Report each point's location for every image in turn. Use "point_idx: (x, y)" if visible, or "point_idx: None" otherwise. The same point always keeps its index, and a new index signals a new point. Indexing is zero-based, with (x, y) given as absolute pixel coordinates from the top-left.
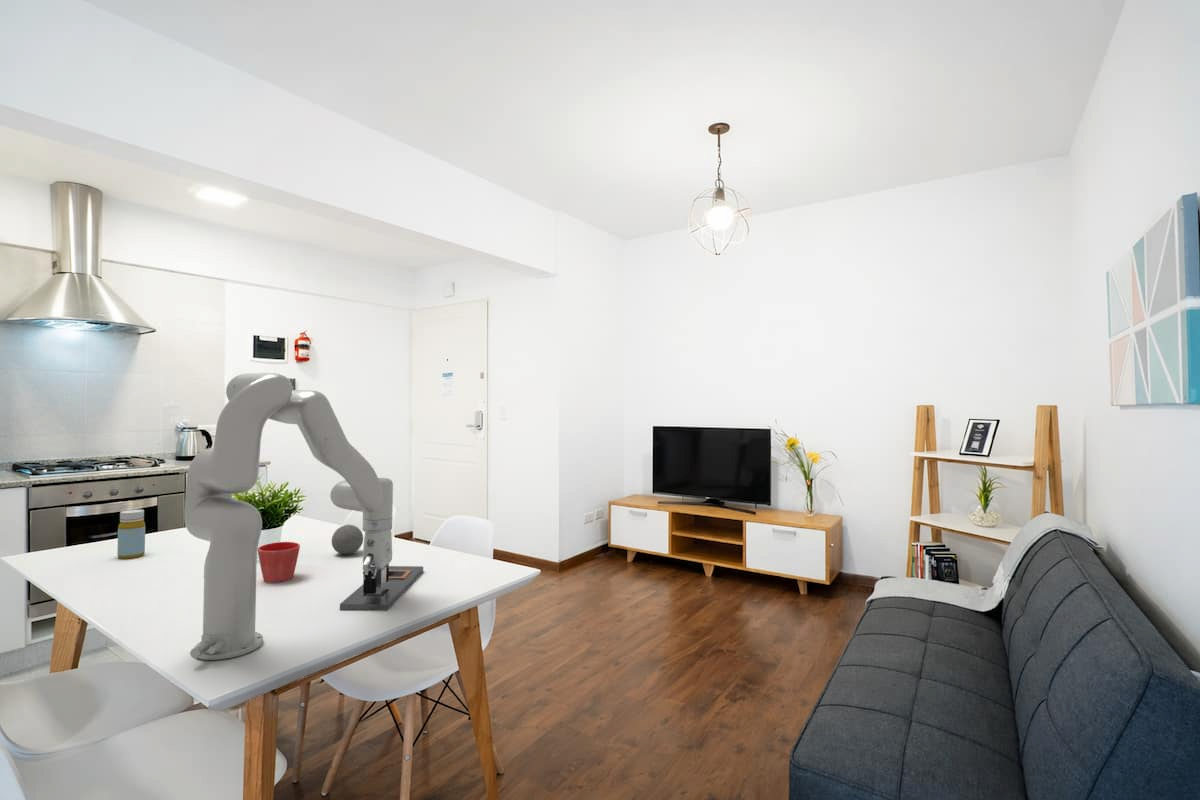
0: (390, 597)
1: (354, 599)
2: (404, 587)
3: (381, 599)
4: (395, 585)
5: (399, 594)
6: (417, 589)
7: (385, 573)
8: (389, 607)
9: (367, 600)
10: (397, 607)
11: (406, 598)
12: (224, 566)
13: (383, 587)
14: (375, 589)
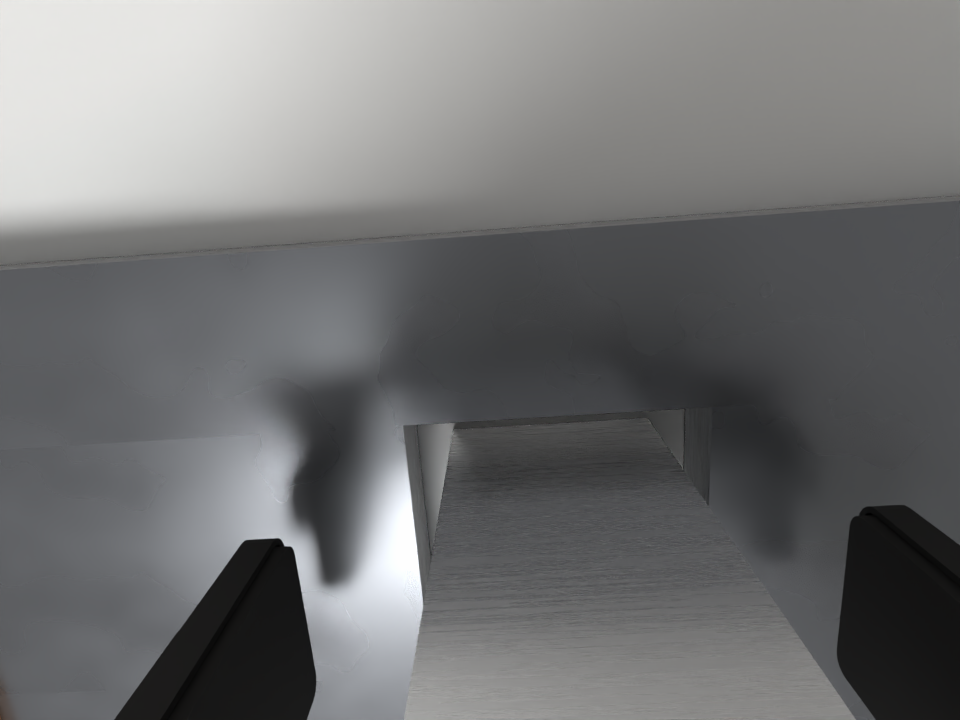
0: (778, 271)
1: (842, 694)
2: (231, 252)
3: (869, 369)
4: (214, 409)
5: (492, 231)
6: (111, 85)
7: (486, 656)
8: (951, 196)
9: None
10: (922, 89)
11: (531, 103)
12: None
13: (576, 492)
14: (948, 538)
